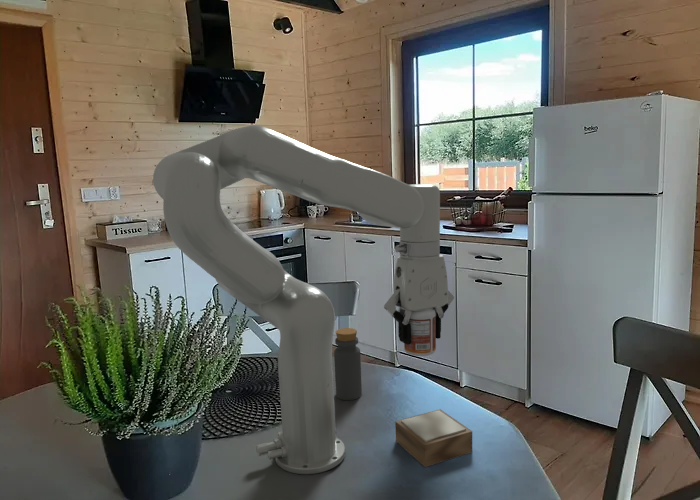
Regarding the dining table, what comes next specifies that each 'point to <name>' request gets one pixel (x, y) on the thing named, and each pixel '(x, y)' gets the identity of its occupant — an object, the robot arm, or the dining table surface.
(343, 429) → the dining table surface
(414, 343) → the pill bottle
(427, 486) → the dining table surface
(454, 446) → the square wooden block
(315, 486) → the dining table surface
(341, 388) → the bottle
